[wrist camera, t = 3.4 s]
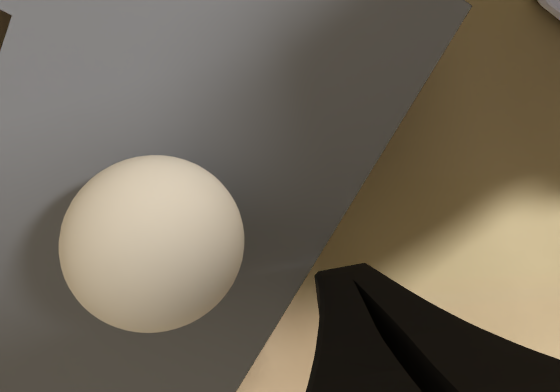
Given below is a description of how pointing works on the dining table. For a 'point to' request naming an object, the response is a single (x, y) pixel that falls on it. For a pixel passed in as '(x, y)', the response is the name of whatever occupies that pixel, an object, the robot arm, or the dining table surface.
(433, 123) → the dining table surface
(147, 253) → the ball
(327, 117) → the deck
